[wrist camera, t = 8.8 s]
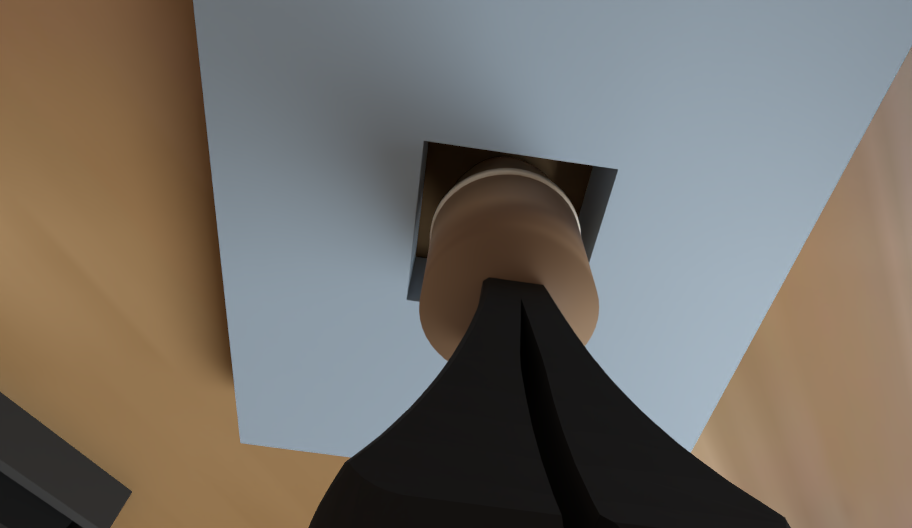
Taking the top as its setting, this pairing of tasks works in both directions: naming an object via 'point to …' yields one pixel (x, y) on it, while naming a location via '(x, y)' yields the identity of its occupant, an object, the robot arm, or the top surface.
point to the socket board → (530, 134)
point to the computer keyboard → (50, 478)
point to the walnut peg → (503, 249)
